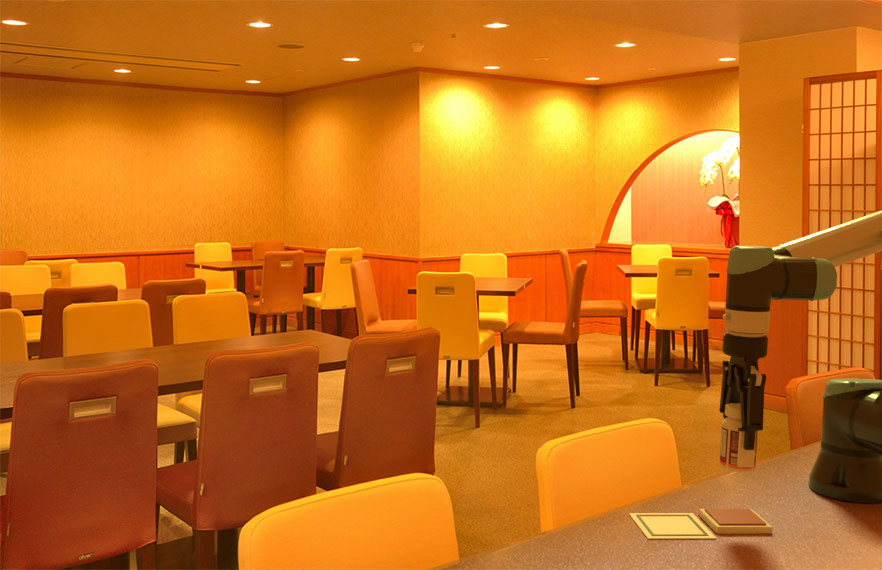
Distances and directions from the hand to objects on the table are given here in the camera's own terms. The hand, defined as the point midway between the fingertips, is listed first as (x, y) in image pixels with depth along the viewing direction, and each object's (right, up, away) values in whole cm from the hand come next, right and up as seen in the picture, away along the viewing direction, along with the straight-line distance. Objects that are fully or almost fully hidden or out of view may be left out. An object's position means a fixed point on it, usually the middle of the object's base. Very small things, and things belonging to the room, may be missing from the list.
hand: (737, 460), depth 161 cm
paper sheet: (-12, -12, -1) cm, 17 cm away
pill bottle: (0, -2, 0) cm, 2 cm away
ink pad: (0, -12, +1) cm, 12 cm away
